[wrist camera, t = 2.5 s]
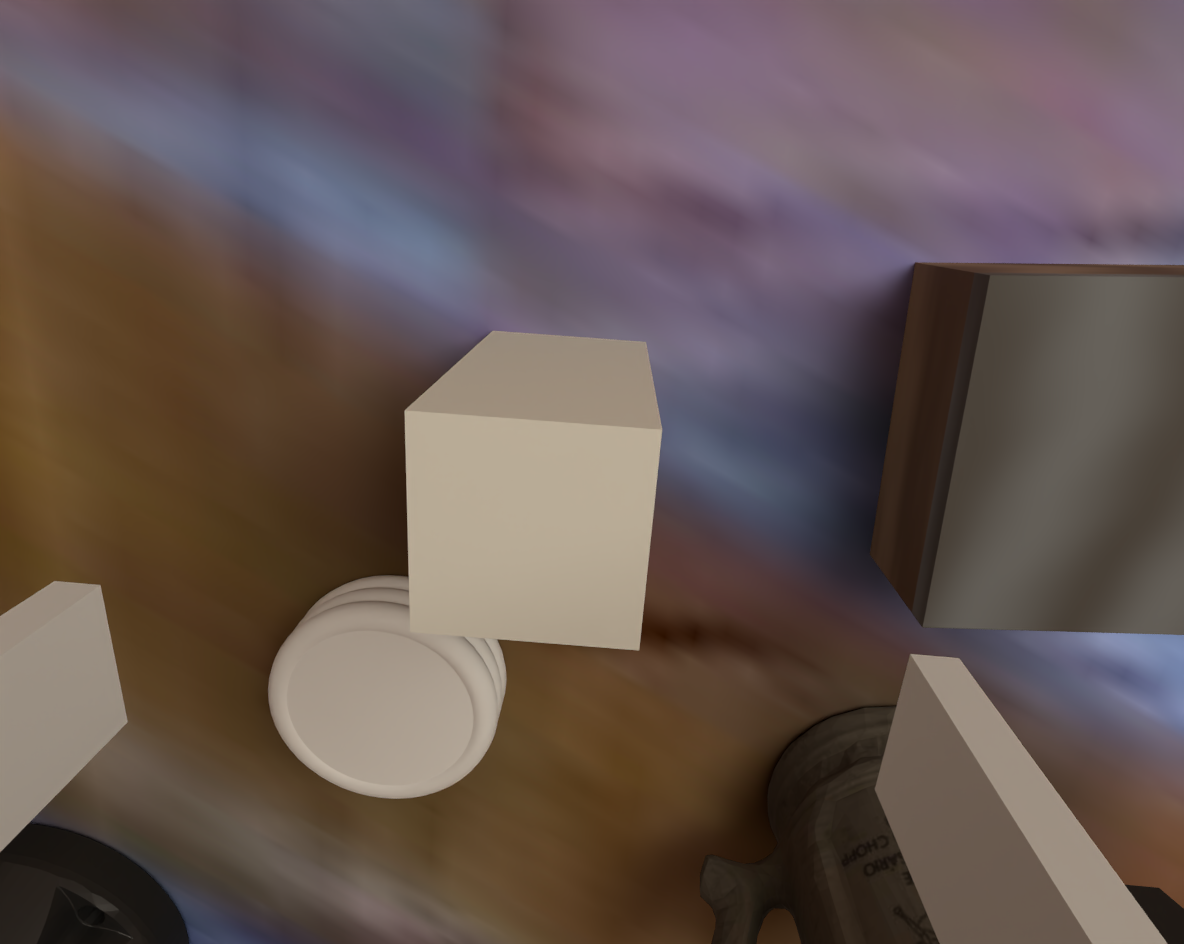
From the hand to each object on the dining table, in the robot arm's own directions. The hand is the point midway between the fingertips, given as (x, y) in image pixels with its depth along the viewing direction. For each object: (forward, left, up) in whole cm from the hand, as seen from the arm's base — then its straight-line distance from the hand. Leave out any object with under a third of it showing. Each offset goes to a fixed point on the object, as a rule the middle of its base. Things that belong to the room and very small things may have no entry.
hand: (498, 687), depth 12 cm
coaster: (-7, -13, -19) cm, 24 cm away
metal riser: (+19, +1, -18) cm, 26 cm away
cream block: (0, 0, -18) cm, 18 cm away
